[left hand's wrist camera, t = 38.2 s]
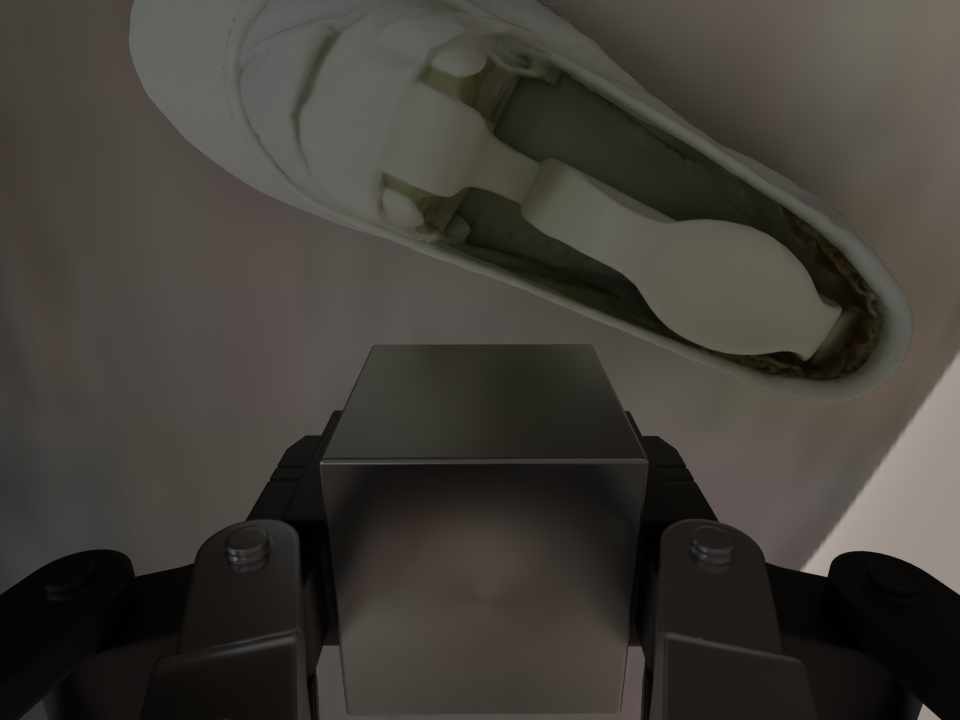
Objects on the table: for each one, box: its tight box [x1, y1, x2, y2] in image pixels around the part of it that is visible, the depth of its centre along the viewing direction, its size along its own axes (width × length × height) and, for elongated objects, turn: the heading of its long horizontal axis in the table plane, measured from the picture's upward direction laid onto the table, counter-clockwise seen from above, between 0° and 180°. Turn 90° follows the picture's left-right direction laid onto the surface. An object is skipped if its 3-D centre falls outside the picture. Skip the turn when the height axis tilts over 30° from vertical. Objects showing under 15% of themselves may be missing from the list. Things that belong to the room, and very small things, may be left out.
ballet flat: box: [129, 0, 913, 402], centre depth 17 cm, size 8×24×8 cm, turn 66°
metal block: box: [319, 344, 649, 715], centre depth 11 cm, size 4×4×4 cm
